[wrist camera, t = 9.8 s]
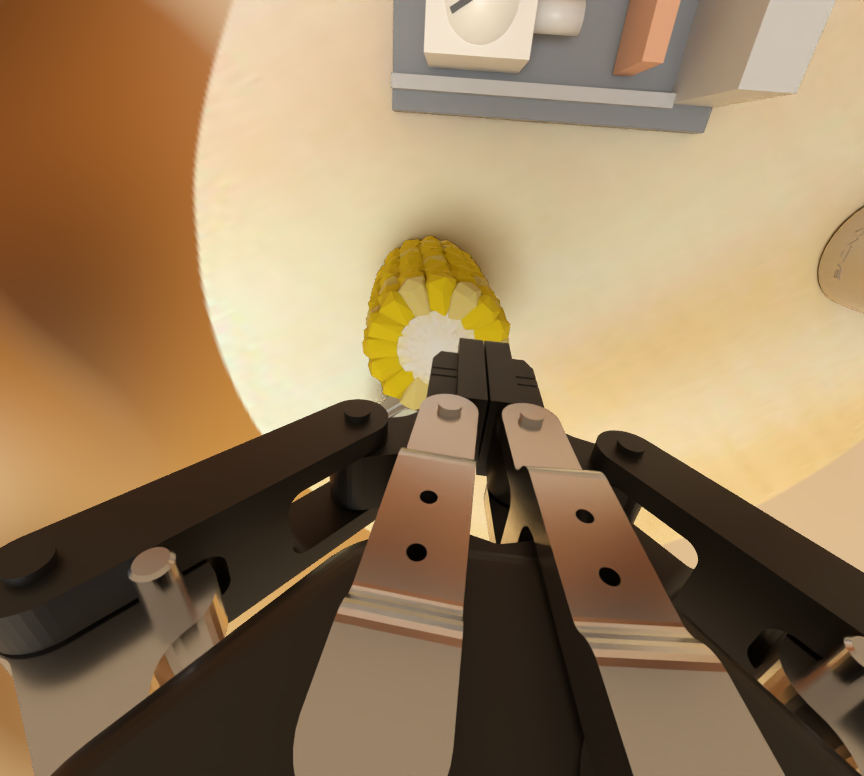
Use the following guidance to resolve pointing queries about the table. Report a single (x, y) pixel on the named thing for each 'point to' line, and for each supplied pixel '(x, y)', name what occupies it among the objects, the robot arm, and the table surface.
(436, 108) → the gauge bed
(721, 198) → the table surface
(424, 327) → the food
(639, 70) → the brown slider plate
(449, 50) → the gauge housing
